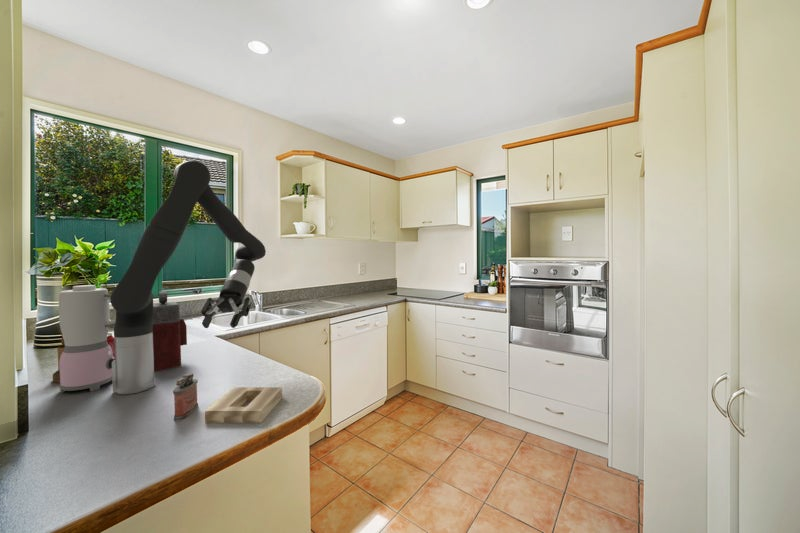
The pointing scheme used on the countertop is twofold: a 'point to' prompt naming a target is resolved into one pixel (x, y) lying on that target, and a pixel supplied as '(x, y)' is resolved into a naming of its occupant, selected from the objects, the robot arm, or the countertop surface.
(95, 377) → the blender
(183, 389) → the lighter
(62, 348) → the mortar and pestle
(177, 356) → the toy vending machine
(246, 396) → the rail
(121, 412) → the countertop surface
